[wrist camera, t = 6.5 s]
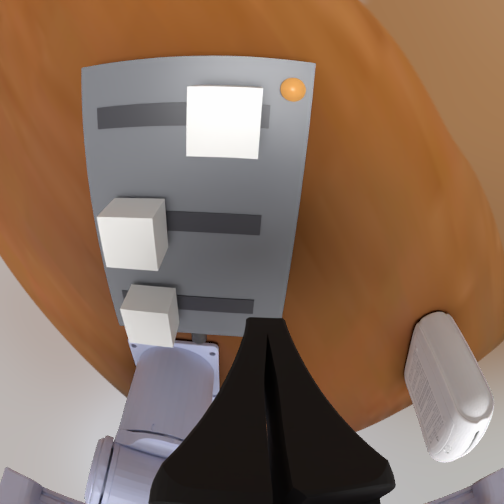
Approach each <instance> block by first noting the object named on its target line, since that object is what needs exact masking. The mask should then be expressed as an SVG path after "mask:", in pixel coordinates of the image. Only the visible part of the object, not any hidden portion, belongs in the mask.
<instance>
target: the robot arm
mask: <svg viewBox="0 0 504 504" xmlns="http://www.w3.org/2000/svg"><path fill="white" fill-rule="evenodd" d="M128 343H129V346H130V349H131V352H132V356H133V359H134V362H135V365H136V370H135V373H134V377H133V380H132V383H131V387H130V390H129V394H128V397H127V401H126V404H125V408H124V411H123V415H122V419H121V422H120V426H119V429H118V432H117V435H116V437H115V440H114V442H113V437H110V436H106V437H105V438H102V439H100V440H99V441H98V444H97V447H96V451H95V454H94V457H93V461H92V465H91V469H90V473H89V477H88V482H87V486H86V491H85V497H84V499H85V500H86V501H85V503H83V502H80V501H77V500H74V499H72V498H69V497H66V496H64V495H61V494H58V493H56V492H54V491H51V490H49V489H47V488H44V487H42V486H41V485H40V484H38V483H37V482H35V481H34V480H32V479H30V478H28V477H26V476H24V475H22V474H20V473H18V472H16V471H14V470H12V469H10V468H8V467H6V468H5V471H4V473H3V477H2V480H1V483H0V504H380V498H381V497H382V496H384V495H386V494H387V493H389V492H390V491H392V490H393V489H394V488H395V480H394V475H393V472H392V470H391V467H390V465H389V462H388V460H386V459H385V458H384V457H382V456H381V455H380V454H379V453H378V452H376V451H375V450H374V449H373V448H372V447H371V446H369V445H368V444H367V443H366V442H365V441H364V440H363V439H362V438H361V437H360V436H359V435H358V434H357V433H356V432H355V431H354V430H353V429H352V428H351V427H350V426H349V425H348V424H347V423H346V422H345V420H344V419H343V418H342V417H341V416H340V415H339V414H338V413H337V411H336V410H335V409H334V408H333V406H332V405H331V404H330V403H329V401H328V400H327V399H326V397H325V396H324V395H323V393H322V392H321V390H320V389H319V387H318V386H317V384H316V383H315V381H314V379H313V378H312V376H311V375H310V373H309V371H308V370H307V368H306V366H305V364H304V362H303V361H302V359H301V357H300V355H299V353H298V351H297V349H296V347H295V345H294V343H293V340H292V338H291V336H290V333H289V331H288V328H287V326H286V323H285V320H284V319H283V318H261V317H249V318H247V319H246V326H245V331H244V335H243V338H242V341H241V344H240V347H239V350H238V352H237V355H236V357H235V360H234V362H233V365H232V367H231V369H230V371H229V373H228V375H227V377H226V379H225V381H224V383H223V385H222V386H221V388H220V385H219V347H218V346H217V345H216V344H213V343H203V344H196V343H194V342H189V341H178V340H175V342H174V346H173V348H172V347H163V346H154V345H146V344H138V343H130V342H129V339H128ZM266 423H267V429H266ZM425 504H504V468H501V469H500V470H498V471H496V472H494V473H492V474H490V475H488V476H486V477H484V478H482V479H480V480H479V481H477V482H475V483H474V484H473V485H471V486H469V487H467V488H464V489H462V490H460V491H457V492H455V493H452V494H450V495H447V496H445V497H442V498H439V499H437V500H434V501H431V502H428V503H425Z"/></svg>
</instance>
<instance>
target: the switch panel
mask: <svg viewBox="0 0 504 504" xmlns="http://www.w3.org/2000/svg"><path fill="white" fill-rule="evenodd" d="M315 65H316V63H310V62H302V61H294V60H285V59H274V58H261V57H244V56H179V57H162V58H149V59H139V60H130V61H122V62H114V63H108V64H101V65H95V66H90V67H84V68H82V114H83V130H84V143H85V154H86V164H87V172H88V180H89V188H90V195H91V201H92V208H93V214H94V219H95V225H96V230H97V236H98V241H99V246H100V251H101V255H102V260H103V264H104V269H105V273H106V277H107V281H108V285H109V289H110V293H111V297H112V300H113V304H114V308H115V311H116V315H117V318H118V322H119V325H121V326H125V325H124V322H123V318H122V315H121V311H120V308H121V306H122V303H123V301H124V299H125V297H126V295H127V293H128V291H129V289H130V287H131V284H133V285H145V286H157V287H170V288H176V296H177V305H178V314H179V326H178V330H177V332H185V333H191V335H192V341H193V342H194V343H196V344H203V343H205V342H206V340H207V334H210V335H225V336H243V335H244V331H245V326H246V319H247V318H249V317H261V318H282V313H283V308H284V302H285V296H286V290H287V284H288V278H289V271H290V265H291V259H292V252H293V246H294V239H295V232H296V225H297V218H298V211H299V204H300V197H301V189H302V182H303V174H304V166H305V158H306V150H307V142H308V133H309V124H310V115H311V106H312V96H313V86H314V76H315ZM194 85H235V86H255V87H262V88H263V97H262V111H261V124H260V138H259V151H258V159H247V158H227V157H196V156H186V118H187V86H194ZM114 198H155V199H165V209H166V223H167V236H168V249H167V251H166V254H165V256H164V258H163V261H162V263H161V265H160V268H159V270H158V271H150V270H137V269H124V268H111V267H106V262H105V258H104V253H103V248H102V243H101V238H100V233H99V228H98V222H97V216H98V215H99V214H100V213H101V212H102V211H103V209H104V208H105V207H106V206H107V205H108V204H109V203H110V202H111V201H112V200H113V199H114Z"/></svg>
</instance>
